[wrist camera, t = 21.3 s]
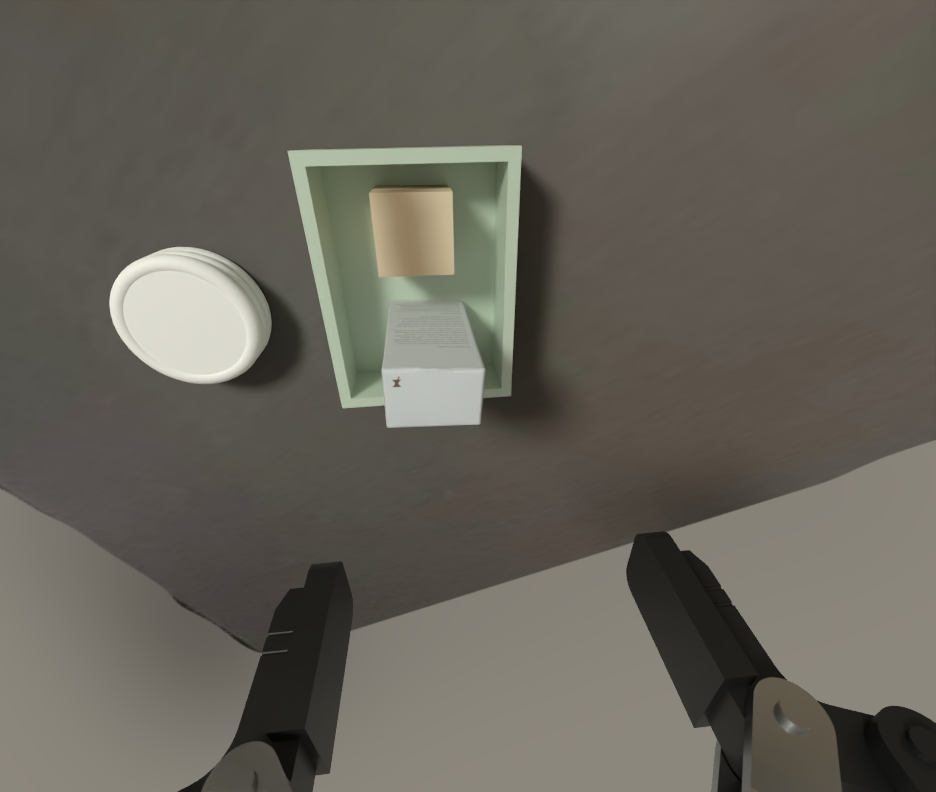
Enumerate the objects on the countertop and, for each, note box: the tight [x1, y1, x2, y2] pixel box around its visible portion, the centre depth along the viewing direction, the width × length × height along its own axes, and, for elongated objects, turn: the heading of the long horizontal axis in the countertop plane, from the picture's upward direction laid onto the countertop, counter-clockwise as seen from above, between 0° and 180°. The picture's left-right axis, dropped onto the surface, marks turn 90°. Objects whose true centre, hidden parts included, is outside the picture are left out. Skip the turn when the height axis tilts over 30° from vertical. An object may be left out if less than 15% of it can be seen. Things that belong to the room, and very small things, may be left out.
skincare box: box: [381, 300, 486, 428], centre depth 29 cm, size 6×4×12 cm
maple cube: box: [369, 184, 454, 277], centre depth 28 cm, size 5×5×5 cm
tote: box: [288, 145, 522, 408], centre depth 31 cm, size 14×18×5 cm
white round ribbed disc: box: [110, 247, 272, 384], centre depth 31 cm, size 10×10×4 cm
